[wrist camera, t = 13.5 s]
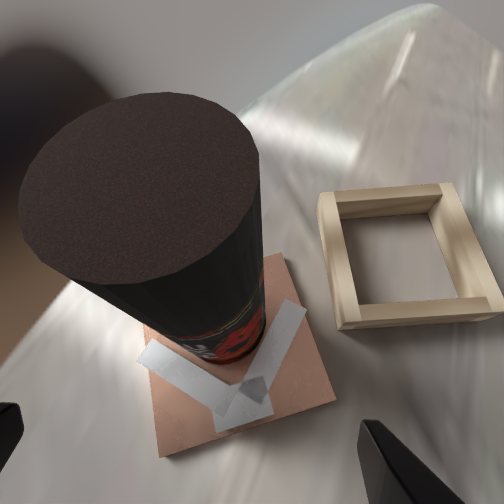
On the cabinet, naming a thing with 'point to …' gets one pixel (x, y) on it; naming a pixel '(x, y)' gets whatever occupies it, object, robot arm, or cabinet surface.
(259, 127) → the cabinet surface
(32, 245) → the deodorant
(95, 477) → the cabinet surface
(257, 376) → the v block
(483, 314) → the beige square frame
